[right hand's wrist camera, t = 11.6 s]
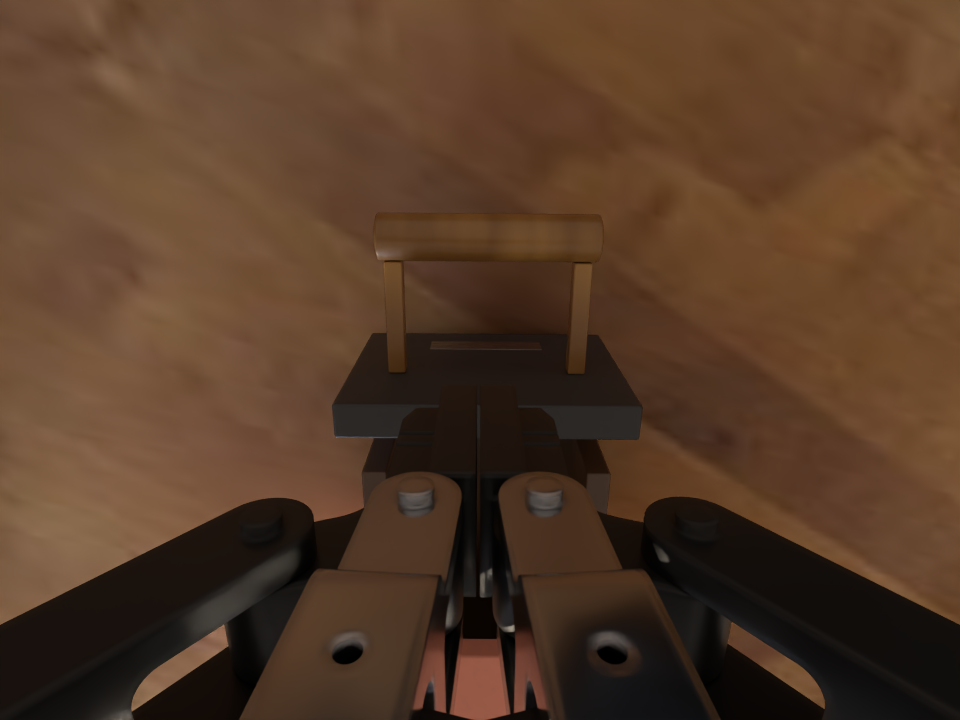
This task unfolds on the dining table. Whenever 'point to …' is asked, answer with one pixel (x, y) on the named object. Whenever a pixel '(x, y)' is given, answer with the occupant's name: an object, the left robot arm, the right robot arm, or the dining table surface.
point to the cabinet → (479, 681)
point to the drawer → (490, 355)
